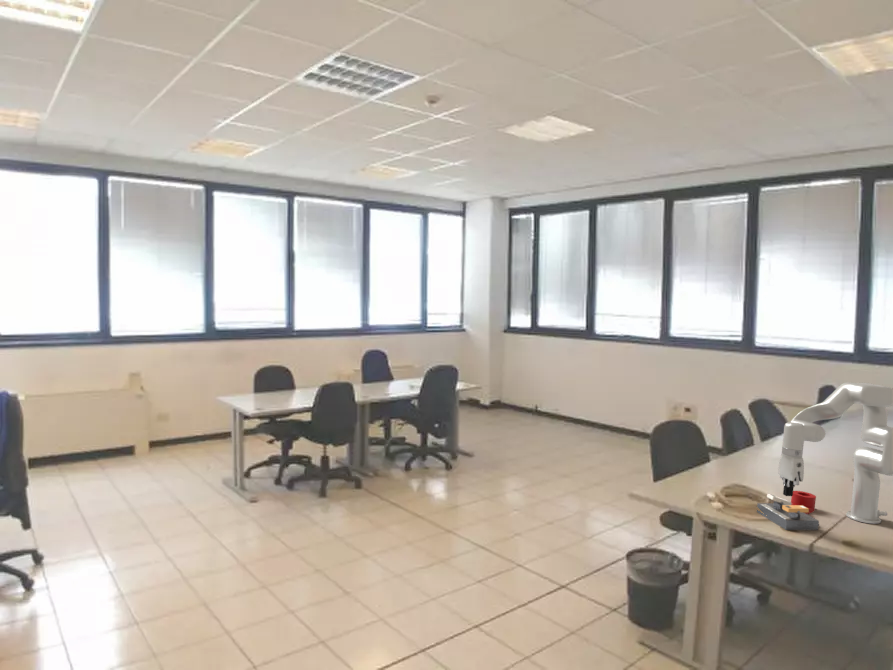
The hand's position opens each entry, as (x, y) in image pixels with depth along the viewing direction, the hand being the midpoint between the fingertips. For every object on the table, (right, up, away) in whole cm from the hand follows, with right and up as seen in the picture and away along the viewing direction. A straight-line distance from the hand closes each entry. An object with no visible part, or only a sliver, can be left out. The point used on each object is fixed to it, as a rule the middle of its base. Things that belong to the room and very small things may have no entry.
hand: (787, 495), depth 252 cm
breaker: (+3, -6, +12) cm, 13 cm away
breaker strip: (+3, -13, +6) cm, 14 cm away
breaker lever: (+4, -6, +1) cm, 8 cm away
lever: (+17, -12, +19) cm, 29 cm away
